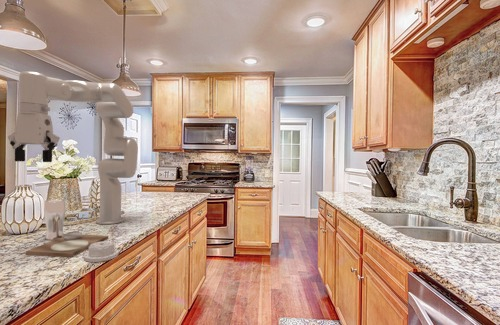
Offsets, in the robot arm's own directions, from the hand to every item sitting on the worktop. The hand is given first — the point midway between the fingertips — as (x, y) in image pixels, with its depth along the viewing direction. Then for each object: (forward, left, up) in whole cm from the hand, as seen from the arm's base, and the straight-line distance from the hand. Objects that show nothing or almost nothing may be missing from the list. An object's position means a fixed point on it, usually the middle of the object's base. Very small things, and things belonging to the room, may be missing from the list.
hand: (33, 161), depth 90 cm
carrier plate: (-8, +7, -31) cm, 33 cm away
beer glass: (-16, -6, -31) cm, 35 cm away
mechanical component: (0, +24, -31) cm, 40 cm away
